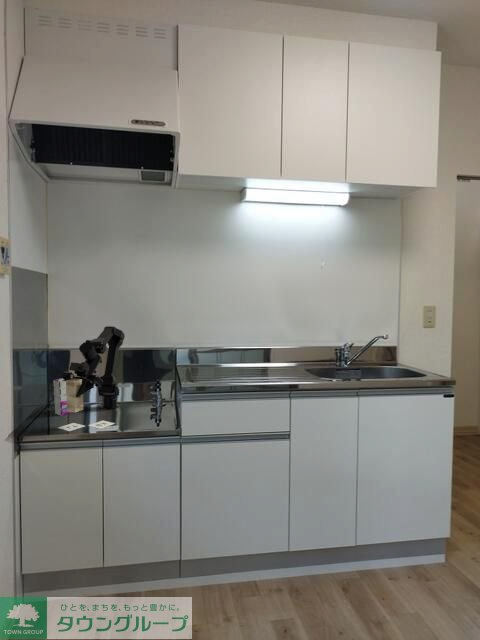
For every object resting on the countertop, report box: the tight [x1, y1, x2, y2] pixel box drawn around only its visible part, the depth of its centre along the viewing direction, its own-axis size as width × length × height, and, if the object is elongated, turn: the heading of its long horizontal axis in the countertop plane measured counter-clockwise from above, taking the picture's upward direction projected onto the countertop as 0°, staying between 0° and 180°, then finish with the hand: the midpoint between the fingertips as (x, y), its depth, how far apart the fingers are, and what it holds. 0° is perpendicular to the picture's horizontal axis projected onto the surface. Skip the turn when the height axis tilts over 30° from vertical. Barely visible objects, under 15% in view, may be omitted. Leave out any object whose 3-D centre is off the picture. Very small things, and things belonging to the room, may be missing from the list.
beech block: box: [66, 379, 84, 413], centre depth 190 cm, size 4×4×13 cm
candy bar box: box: [52, 377, 74, 417], centre depth 211 cm, size 11×5×16 cm, turn 148°
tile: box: [57, 422, 85, 432], centre depth 190 cm, size 8×8×1 cm
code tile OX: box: [88, 420, 116, 430], centre depth 194 cm, size 8×8×1 cm
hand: (72, 396), depth 189 cm, fingers closed on beech block, 4 cm apart
